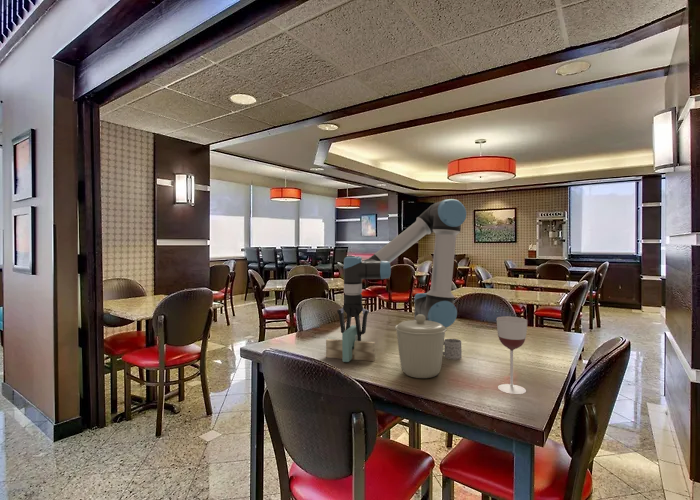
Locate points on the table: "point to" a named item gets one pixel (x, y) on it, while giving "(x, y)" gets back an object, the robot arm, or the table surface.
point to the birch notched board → (359, 352)
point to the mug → (452, 349)
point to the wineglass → (511, 345)
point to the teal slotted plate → (348, 342)
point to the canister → (420, 346)
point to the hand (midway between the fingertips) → (353, 350)
